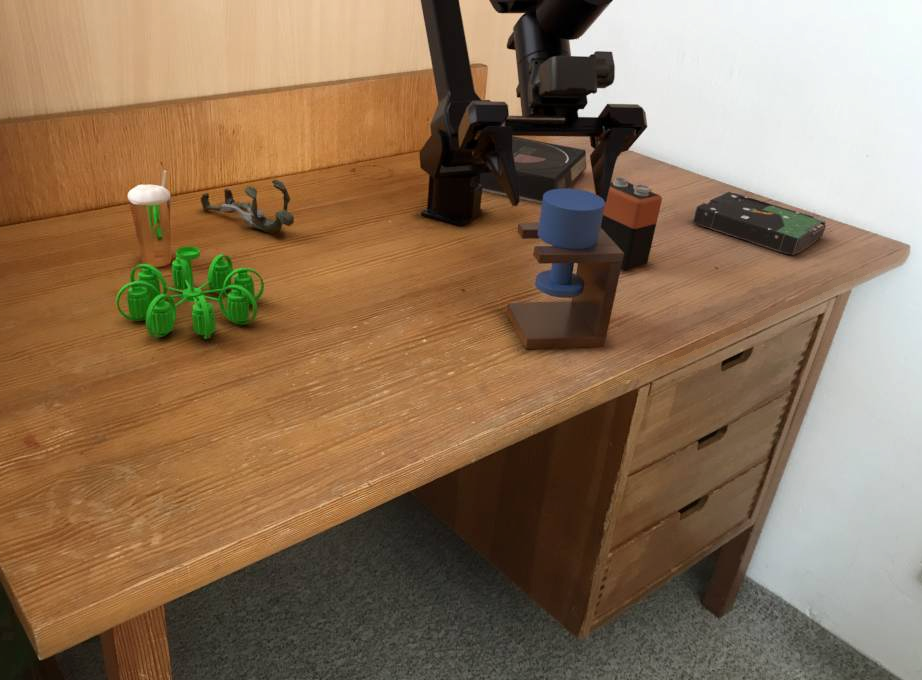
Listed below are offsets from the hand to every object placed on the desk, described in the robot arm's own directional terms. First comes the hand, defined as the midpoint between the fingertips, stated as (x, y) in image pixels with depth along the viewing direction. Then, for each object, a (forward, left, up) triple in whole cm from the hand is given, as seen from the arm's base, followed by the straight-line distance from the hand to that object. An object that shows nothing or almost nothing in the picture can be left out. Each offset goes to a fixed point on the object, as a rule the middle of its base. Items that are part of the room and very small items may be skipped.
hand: (559, 204), depth 84 cm
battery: (+2, +20, -13) cm, 24 cm away
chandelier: (-30, -22, -13) cm, 40 cm away
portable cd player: (-21, +40, -13) cm, 47 cm away
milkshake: (-42, -15, -13) cm, 47 cm away
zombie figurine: (-41, 0, -13) cm, 43 cm away
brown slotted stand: (+2, -3, -13) cm, 13 cm away
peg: (+2, -3, -8) cm, 8 cm away
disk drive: (+15, +42, -13) cm, 46 cm away
